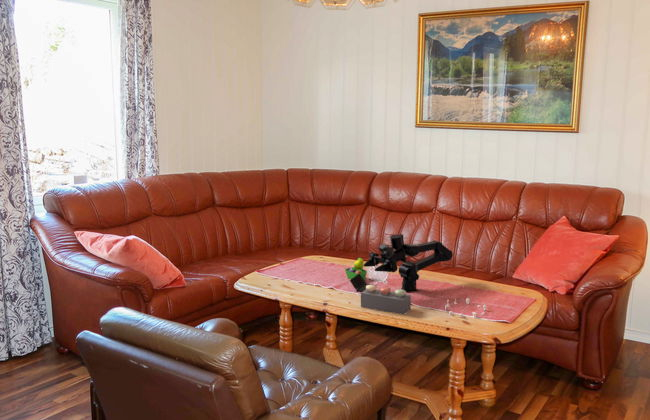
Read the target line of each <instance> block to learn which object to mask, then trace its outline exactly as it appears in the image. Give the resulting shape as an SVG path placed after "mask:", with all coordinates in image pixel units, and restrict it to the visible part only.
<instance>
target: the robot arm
mask: <svg viewBox="0 0 650 420" xmlns="http://www.w3.org/2000/svg"><path fill="white" fill-rule="evenodd" d="M389 238H390V244H391V245H388V244H386V243H381V244H380V245H379V246H378V247H377V248H378V250H379V251H380V254H378V253H377V252H374V251H371V252H369V254H368V255H369V259H368V260H367V261H365V262H364V263H363V265H364V266H363V268H364V267H367V268H368V267H369V268H370V267H376V266H377V267H376V268H375V269H374V272H384V273H395V272H397V271H398V274H399V275H400V278H402V281H401V287H400V289H402V290H405V293H412V292H418V291H419V289H417V281H418V280H419V279H420V275H419V274H418V273H419V272H420V271H421V270H423V269H426V268H428V267H431V266H432V265H435V264H437V263H441V262H445V263H446V262H449V261H451V260H452V258H453V251H452V250H451V249H449V248H447V246H445V245H444V244H443V243H442V242H441V241H438V240H432V241H426V242H421V243H416V244H415V243H414V244H413V243H405V241H404V234H402V233H399V234H397V233H396V234H391V235H390V236H389ZM430 251H433V254H430V255H429V256H426V257H424V258H422V259H418V260H416V261H414V262H413V261H410V260H407V259H408V257H409V258H413V257H417V256H418V255H419V254H420V253H425V252H430ZM379 255H380V256H379ZM406 256H407V257H406ZM398 262H401V264H400V265H399V267H398V264H397V263H398ZM379 264H381V265H379Z"/></svg>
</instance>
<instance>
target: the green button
mask: <svg viewBox="0 0 650 420" xmlns="http://www.w3.org/2000/svg"><path fill="white" fill-rule="evenodd" d="M394 292H395V295H397V296H398V297H399V298H403V296H404V295H405V294H406V291H405V290H402V289H401V288H400V289H395V291H394Z"/></svg>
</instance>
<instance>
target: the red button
mask: <svg viewBox="0 0 650 420" xmlns="http://www.w3.org/2000/svg"><path fill="white" fill-rule="evenodd" d="M391 289H392V288H391V287H388V286H382V287H380V288H379V290H380V292H381V293H383V295H388V293H390V292H392V291H391Z"/></svg>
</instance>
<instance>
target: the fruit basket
mask: <svg viewBox="0 0 650 420" xmlns="http://www.w3.org/2000/svg"><path fill="white" fill-rule="evenodd" d="M364 264H365V261H364V259H363V258H361V257H359V258H357V259H356V261H354V263H353V266H351V267H349V268H345V269H344V271H345V274H346V278H347V279H350V280H351V279H352V278H354V277H355V276H356V275H358V274H360V275H361V277H362V278H363V280H364V281H366V277H367V273H368V270H365V269H363V268H364Z"/></svg>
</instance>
